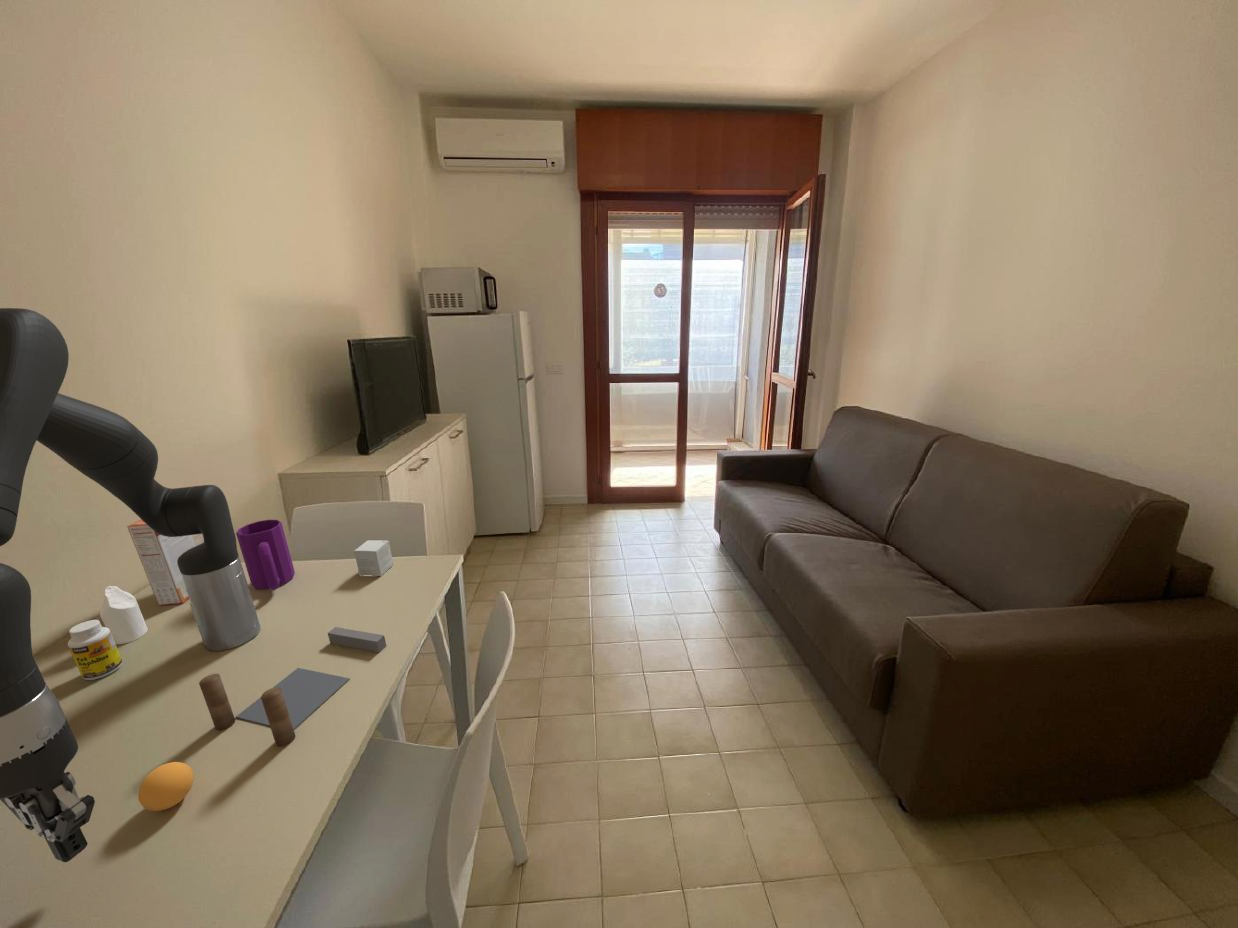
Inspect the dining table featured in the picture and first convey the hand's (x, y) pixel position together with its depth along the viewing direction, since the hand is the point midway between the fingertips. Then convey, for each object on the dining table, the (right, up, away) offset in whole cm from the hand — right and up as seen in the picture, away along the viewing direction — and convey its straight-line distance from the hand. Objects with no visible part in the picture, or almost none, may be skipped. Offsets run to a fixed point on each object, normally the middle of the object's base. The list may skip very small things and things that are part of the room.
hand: (73, 852), depth 58 cm
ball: (+3, +2, +9) cm, 10 cm away
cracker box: (-42, +15, +64) cm, 78 cm away
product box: (+2, +18, +70) cm, 72 cm away
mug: (-21, +16, +64) cm, 69 cm away
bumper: (+12, +10, +41) cm, 44 cm away
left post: (0, +3, +23) cm, 23 cm away
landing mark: (+8, +5, +28) cm, 30 cm away
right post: (+12, +3, +19) cm, 23 cm away
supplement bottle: (-34, +6, +36) cm, 50 cm away
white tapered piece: (-40, +9, +47) cm, 62 cm away
